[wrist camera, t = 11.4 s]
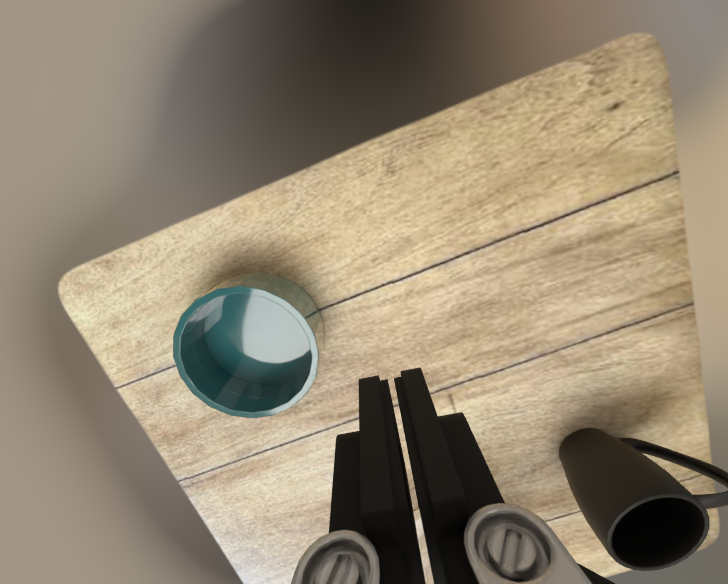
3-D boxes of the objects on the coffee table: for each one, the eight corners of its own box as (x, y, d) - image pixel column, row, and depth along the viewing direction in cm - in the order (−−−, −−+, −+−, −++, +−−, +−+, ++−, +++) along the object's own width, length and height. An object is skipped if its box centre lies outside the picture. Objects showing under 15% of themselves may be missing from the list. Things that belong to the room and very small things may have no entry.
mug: (665, 455, 38) (764, 540, 28) (556, 490, 39) (617, 583, 30) (653, 393, 35) (755, 464, 26) (538, 432, 37) (597, 513, 27)
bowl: (202, 262, 31) (173, 275, 26) (332, 282, 32) (327, 299, 27) (198, 377, 34) (171, 408, 30) (316, 393, 35) (309, 426, 30)
